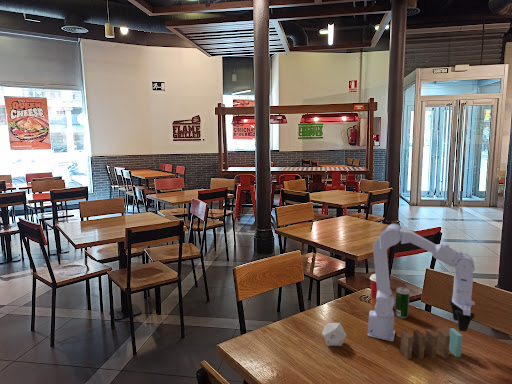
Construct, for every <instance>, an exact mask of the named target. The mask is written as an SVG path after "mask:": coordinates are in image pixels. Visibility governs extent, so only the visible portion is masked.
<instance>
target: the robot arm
mask: <svg viewBox="0 0 512 384" xmlns="http://www.w3.org/2000/svg"><path fill="white" fill-rule="evenodd" d="M399 243H400V244H402V245H404V244H412V245H414V246H416V247H419V248H420V249H423V250H425V251H428V252H430V253H431V254H432V256H433V258H434V259H436V260H437V261H440V262H441V263H444V264H446V265H448V266H450V267H453V268H454V269H455V273H454V276H453V285H452V286H453V288H452V289H453V290H452V297H451V299H448V301H449V304H450V307H451V312H452V317H453V321H457V325H458V326H457V327H458V331H460V332H467V331H468V327H469V326H470V323H471V321H472V320H473V319H474V318H475V317H476V316H475V313H474V312H472V310H471V308H472V306H475V305H476V303H475V301H474V300H472V295H473V285H474V284H473V283H474V277H473V276H474V272H475V269H476V268H475V261H474V259H473V257H471V256H470V255H469V254H468V253H464V252H463V251H457V250H456V249H453V248H451V247H450V244H447V243H445V244H443V243H439V244H436V243H434V242H432V241H431V240H429V239H427V238H425V237H423V236H421V235H419V234H417V232H414V231H412V230H410V229H409V228H407V227H405V226H401V225H400V224H398V223H391V224H388V226H386V227H385V228H384V229H383V230H382V231H381V233H380V234H379V236H378V237H377V238H376V240H375V242H374V243H373V245H372V250H373V251H372V252H373V262H374V271H375V273H374V274H376V284H377V296H376V304H375V307H374V310H369V313H368V325H367V336H368V337H371V338H375V339H381V340H385V341H387V342H388V341H389V342H394V340H395V335H396V331H395V330H394V328H395V311H394V310H393V308H394V306H395V305H396V298H395V297H394V296H393V291H392V289H391V282H390V281H391V280H390V271H389V262H388V252H387V250H388V249H389V248H390V247H393V246H396V245H397V244H399Z"/></svg>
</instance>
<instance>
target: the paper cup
mask: <svg viewBox="0 0 512 384" xmlns="http://www.w3.org/2000/svg"><path fill="white" fill-rule="evenodd" d="M369 280H370V302H371V303H370V304H371V306H372V307H374V308H375V304H376V296H377V284H376V274H375V273H372V274H371V275H370V277H369Z"/></svg>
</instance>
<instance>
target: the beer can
mask: <svg viewBox="0 0 512 384" xmlns="http://www.w3.org/2000/svg"><path fill="white" fill-rule="evenodd" d="M394 306H395V308H394V315H395V316H396V317H397V318H399V319H406V318H409V317H408V316H409V309H410V308H409V307H410V290H409V289H408V288H406V287H402V286H398V287H397V288H396V291H395V305H394Z"/></svg>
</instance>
